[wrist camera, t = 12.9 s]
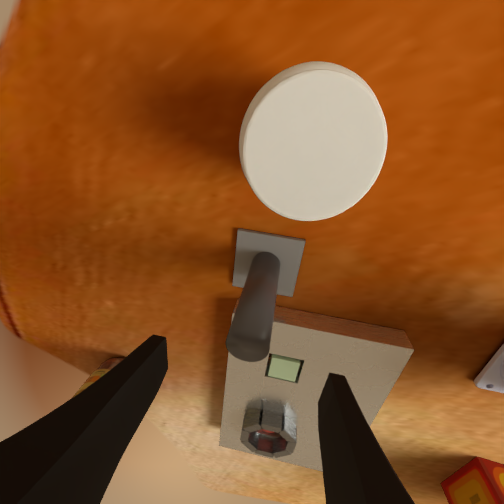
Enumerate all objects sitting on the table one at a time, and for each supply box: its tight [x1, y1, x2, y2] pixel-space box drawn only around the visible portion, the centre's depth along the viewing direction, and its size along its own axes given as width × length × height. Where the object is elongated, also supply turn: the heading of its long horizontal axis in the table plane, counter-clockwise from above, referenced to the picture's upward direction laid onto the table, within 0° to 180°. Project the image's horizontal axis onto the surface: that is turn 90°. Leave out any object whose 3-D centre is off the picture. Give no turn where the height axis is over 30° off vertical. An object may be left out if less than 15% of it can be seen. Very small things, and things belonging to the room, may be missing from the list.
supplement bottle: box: [239, 61, 387, 221], centre depth 11 cm, size 5×5×10 cm
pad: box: [268, 354, 300, 382], centre depth 22 cm, size 2×2×2 cm
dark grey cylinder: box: [226, 252, 280, 362], centre depth 16 cm, size 2×2×8 cm
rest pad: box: [232, 228, 305, 297], centre depth 20 cm, size 5×5×1 cm
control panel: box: [219, 298, 414, 472], centre depth 24 cm, size 14×20×3 cm
